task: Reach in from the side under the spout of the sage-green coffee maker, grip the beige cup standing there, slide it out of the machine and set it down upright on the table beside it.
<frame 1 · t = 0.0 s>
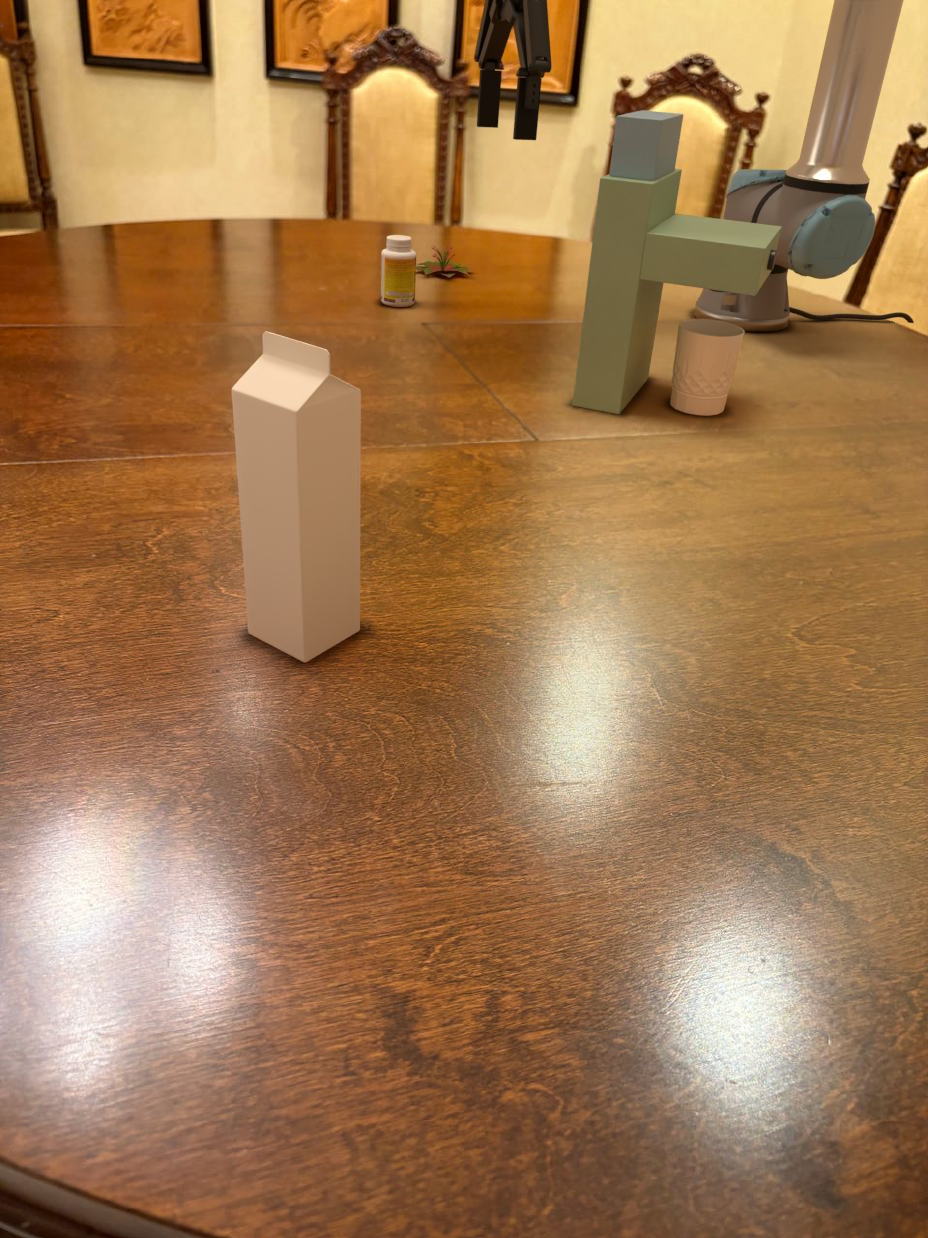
hand: (505, 133, 122), 28 cm above the table, tool pointing down, fingers open, 13 cm apart
milk: (304, 634, 73), on the table
supplement bottle: (397, 304, 157), on the table
beige cup: (696, 408, 122), on the table
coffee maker: (649, 398, 124), on the table
green leafy plant: (442, 273, 178), on the table
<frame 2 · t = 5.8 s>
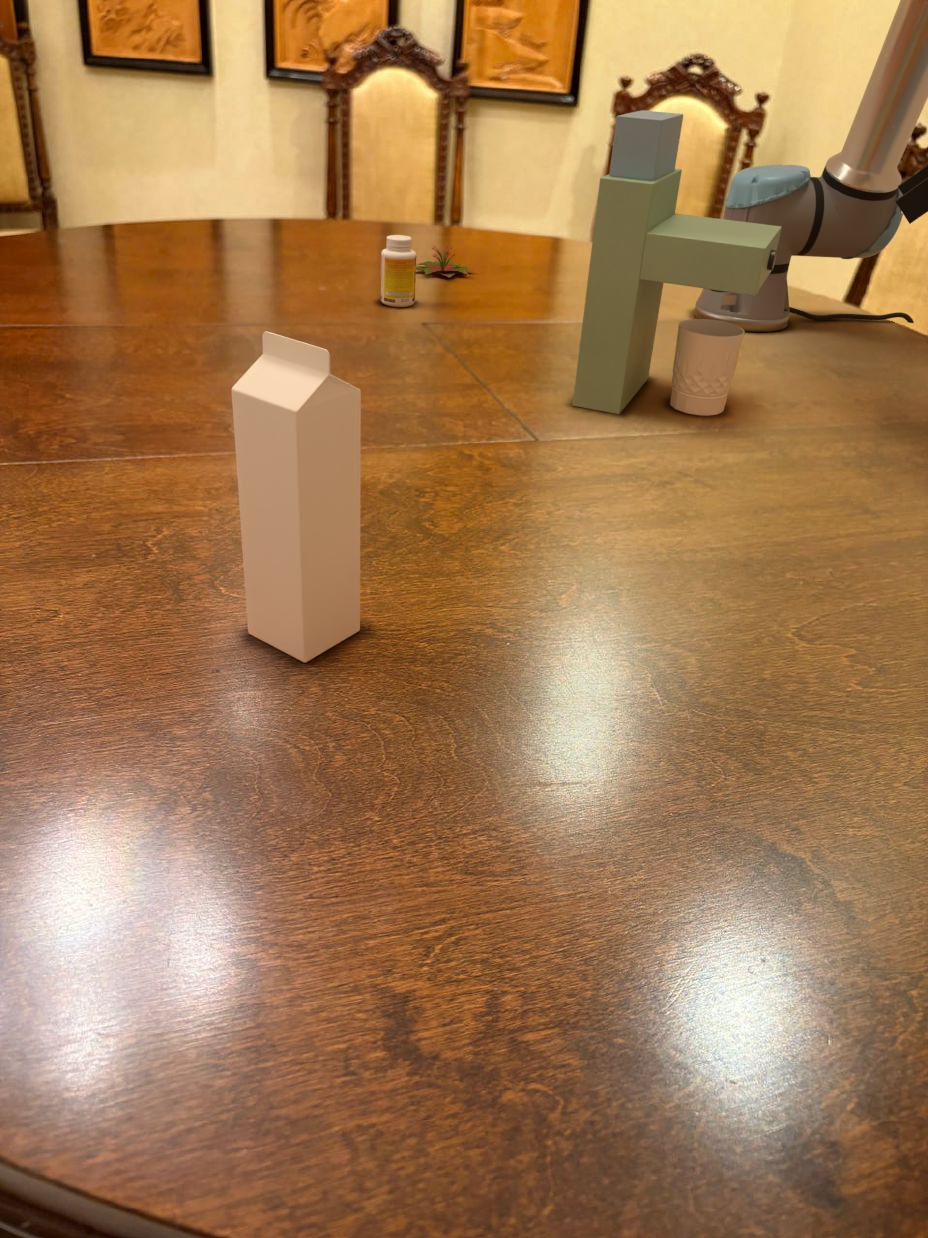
hand: (903, 204, 104), 26 cm above the table, tool tilted 45°, fingers open, 13 cm apart
nothing on the table moved.
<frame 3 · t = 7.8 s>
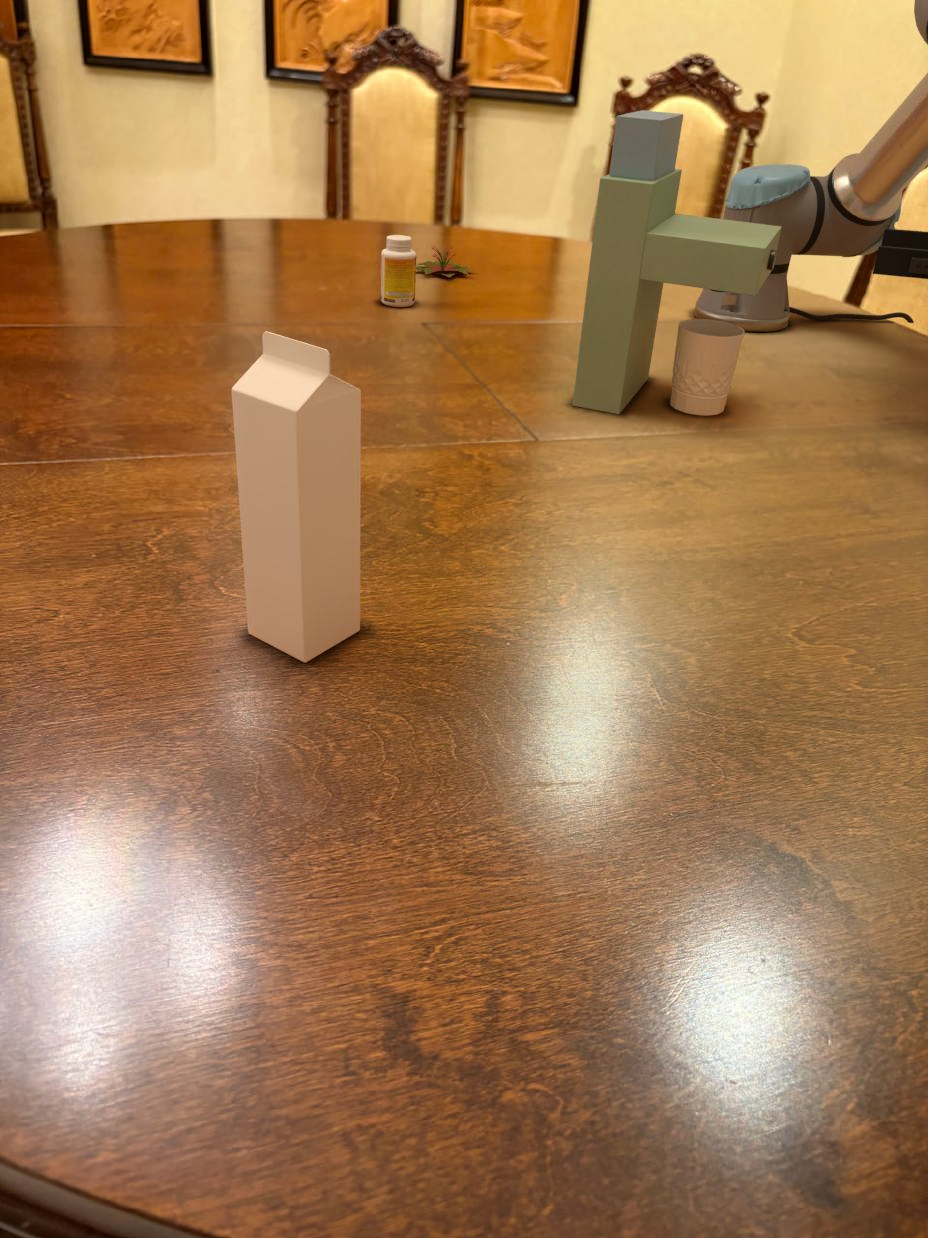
hand: (878, 249, 107), 21 cm above the table, tool horizontal, fingers open, 13 cm apart
nothing on the table moved.
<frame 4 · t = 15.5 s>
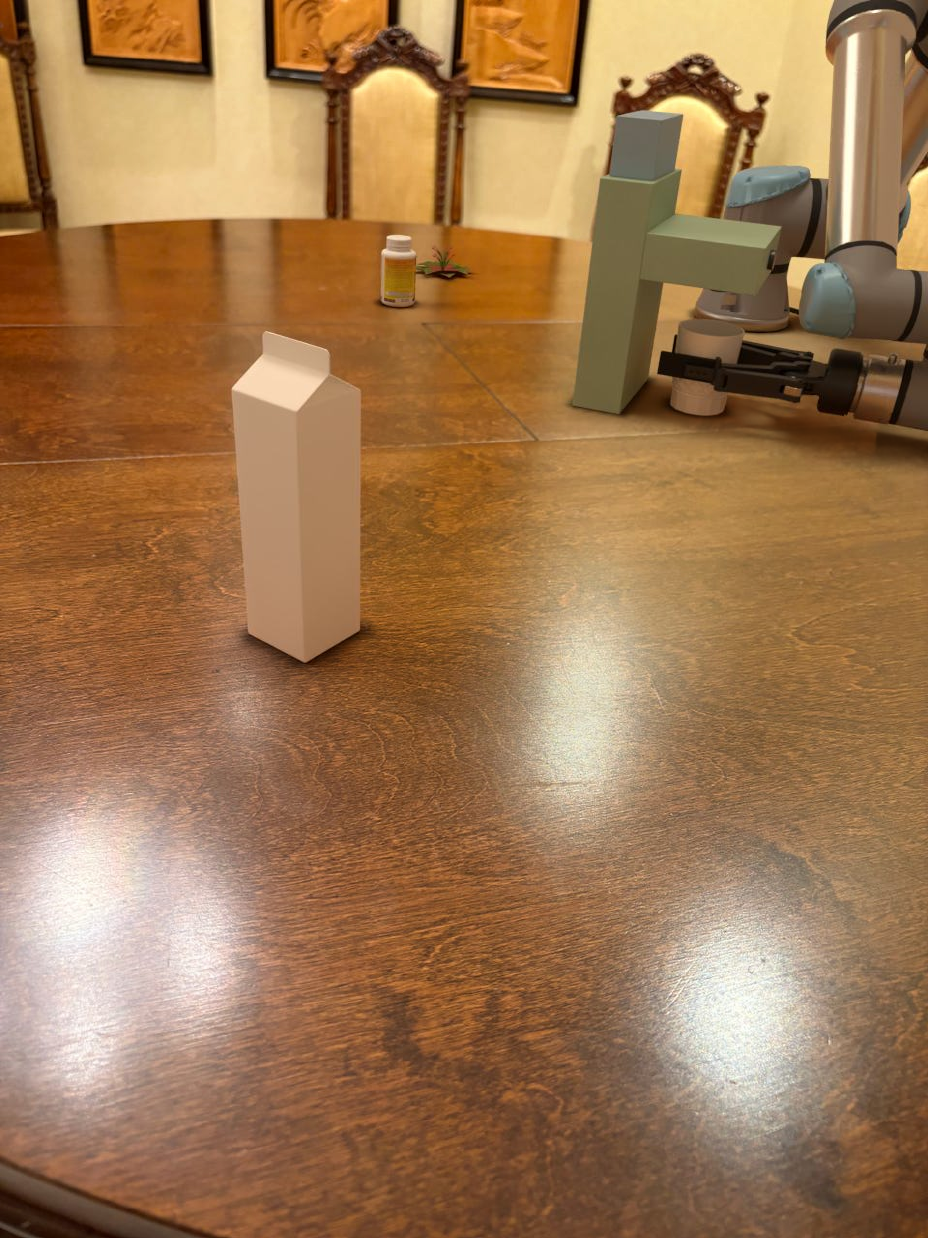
hand: (666, 353, 121), 6 cm above the table, tool horizontal, fingers closed on beige cup, 8 cm apart
beige cup: (696, 408, 122), on the table, touching gripper
everything else where it was.
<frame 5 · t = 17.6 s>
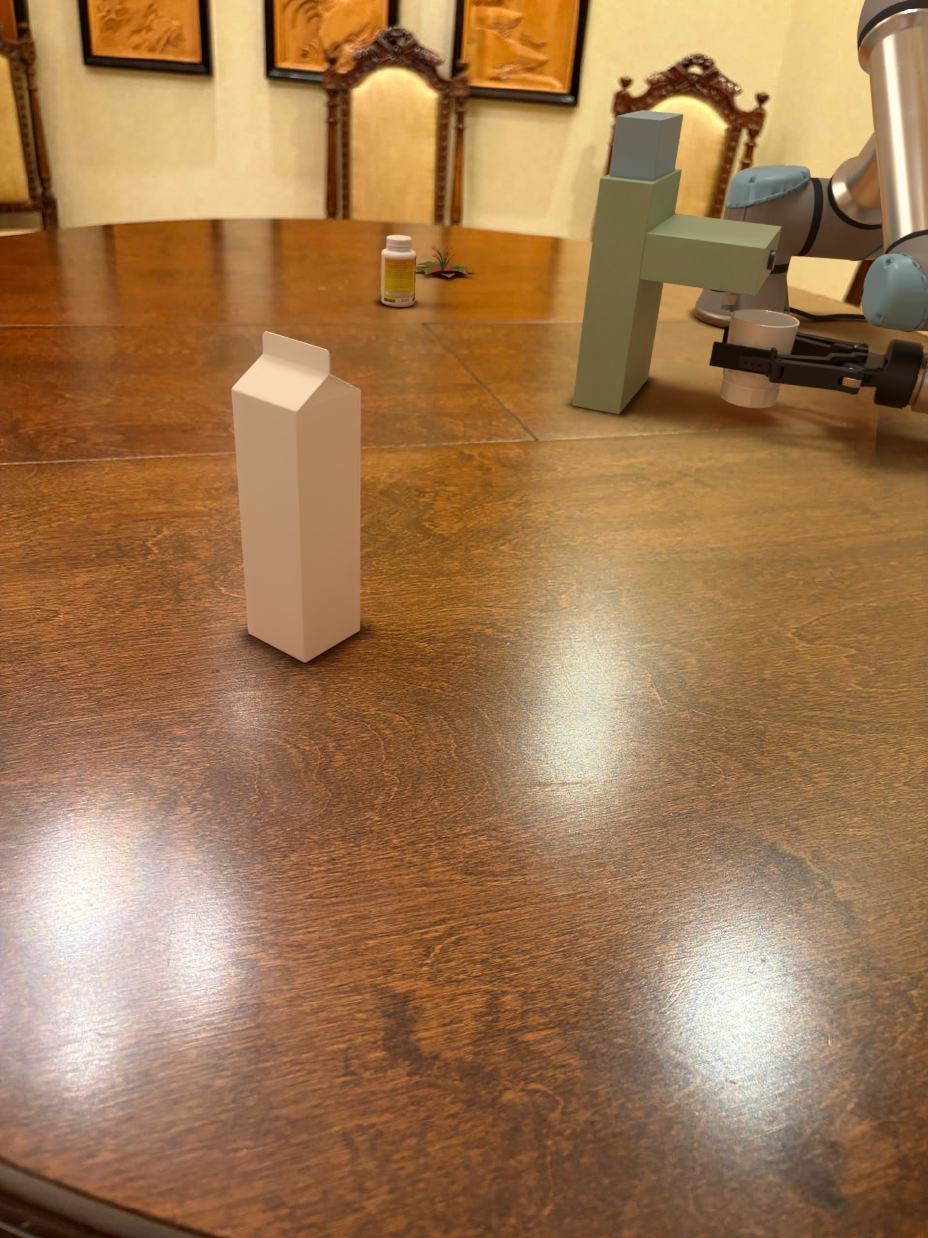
hand: (717, 344, 118), 8 cm above the table, tool horizontal, fingers closed on beige cup, 8 cm apart
beige cup: (747, 401, 120), point 2 cm above the table, touching gripper
everything else where it was.
when the fingers open (6 cm above the table, at t = 19.7 s): beige cup stays where it is, on the table.
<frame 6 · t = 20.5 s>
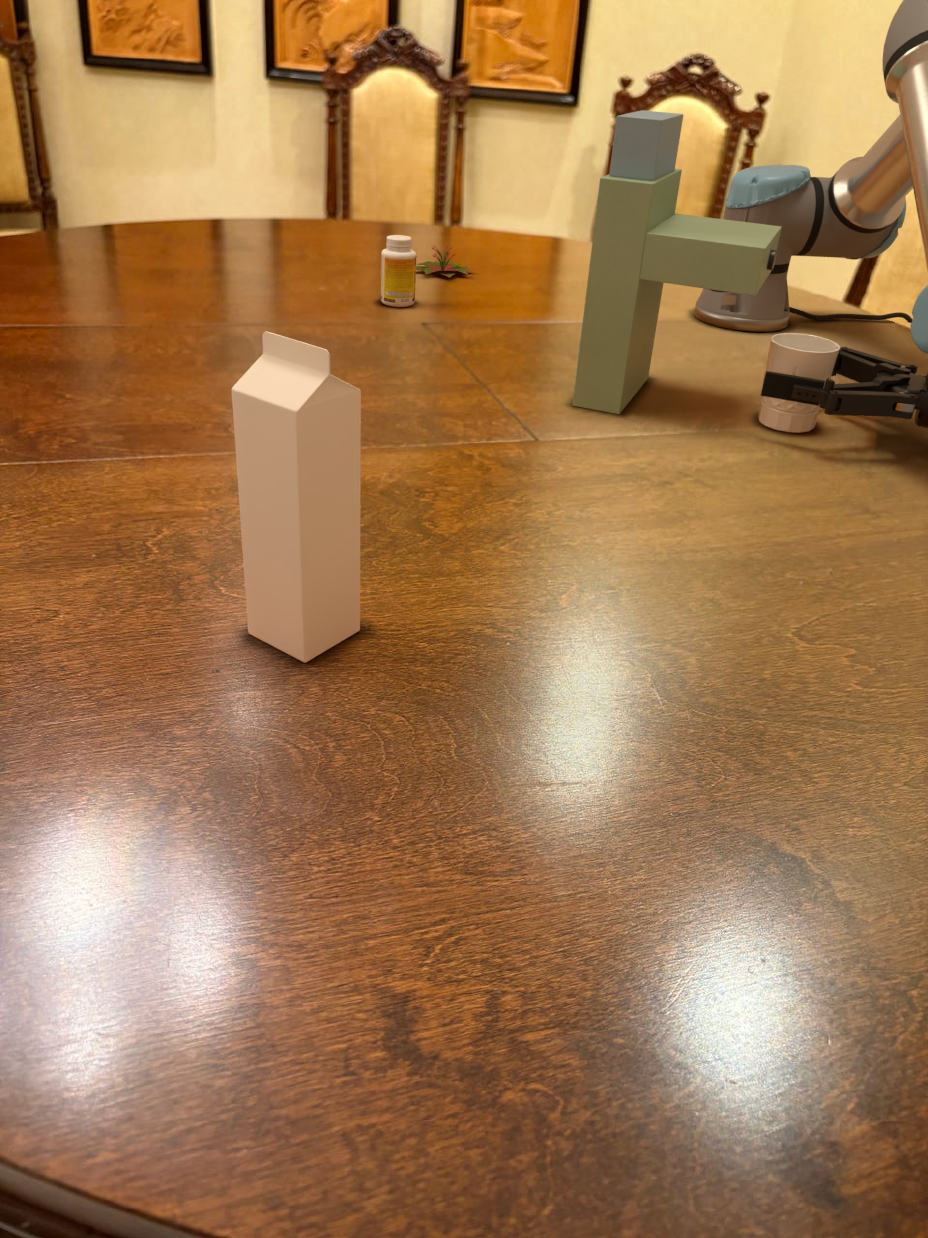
hand: (770, 367, 117), 6 cm above the table, tool horizontal, fingers open, 13 cm apart
beige cup: (785, 424, 119), on the table
everything else where it was.
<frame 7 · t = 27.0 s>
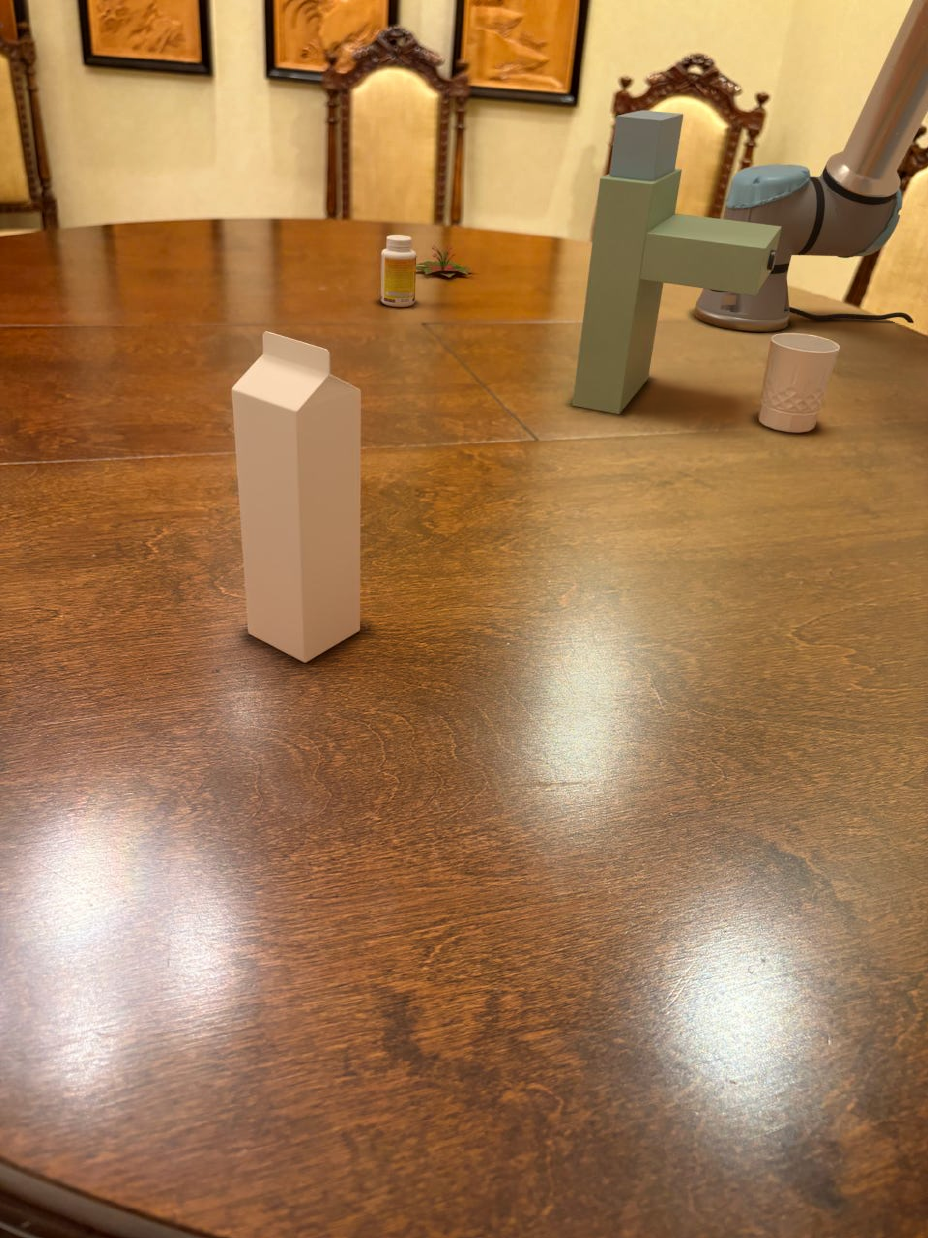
nothing on the table moved.
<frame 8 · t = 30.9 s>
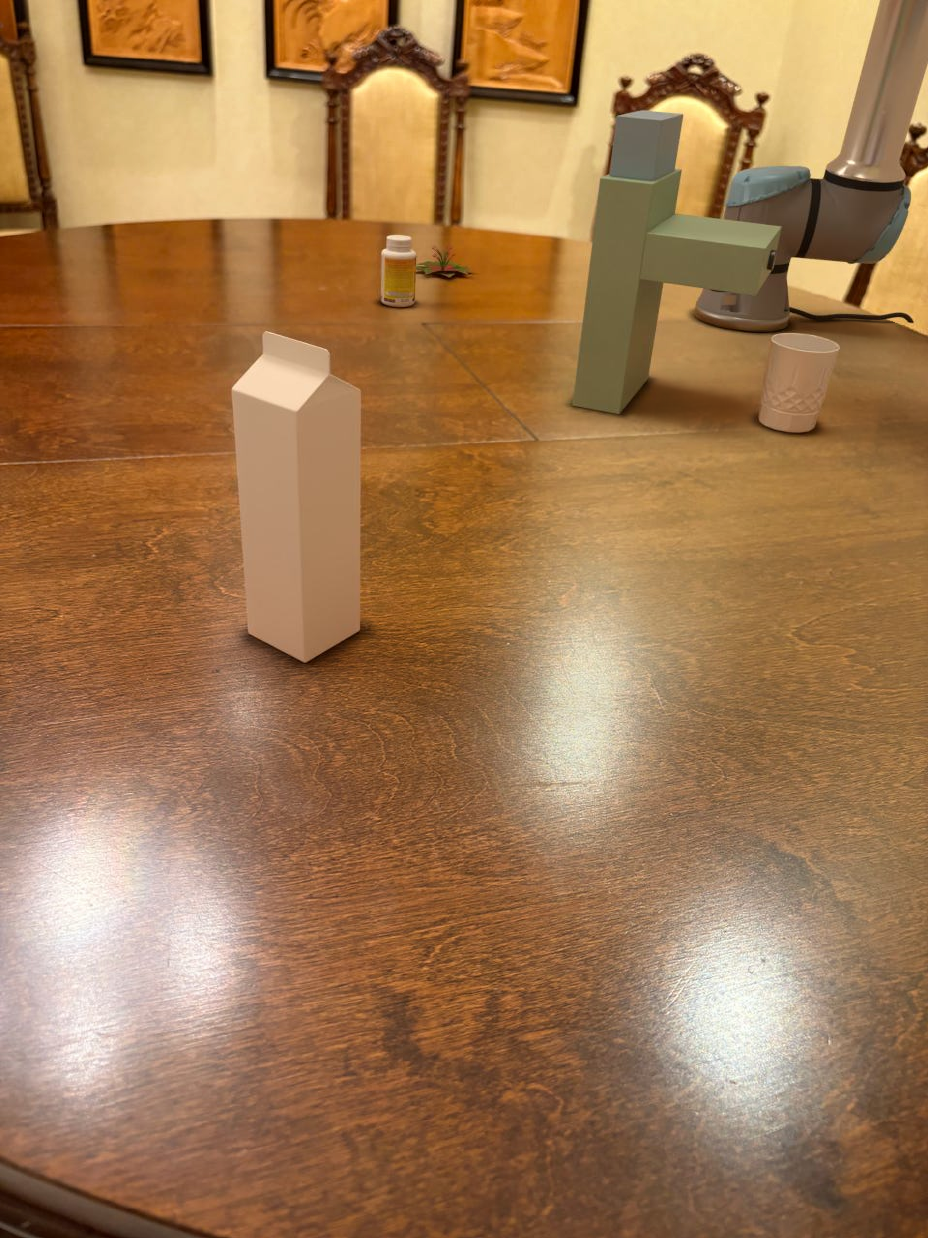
nothing on the table moved.
at the end: beige cup inside the target area (0.2 cm from its centre), on the table; beige cup tilted 0°; the gripper is holding nothing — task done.
